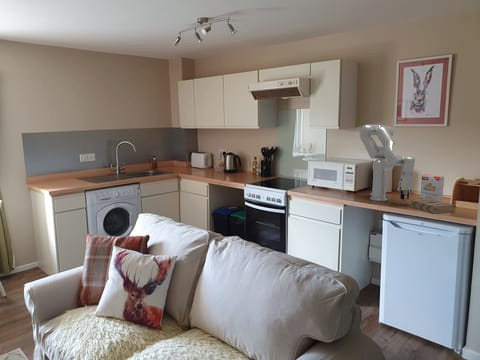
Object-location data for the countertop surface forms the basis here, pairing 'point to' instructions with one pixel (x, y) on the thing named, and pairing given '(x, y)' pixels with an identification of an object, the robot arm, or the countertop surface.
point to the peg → (405, 196)
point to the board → (432, 206)
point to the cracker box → (432, 187)
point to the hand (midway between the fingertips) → (404, 198)
